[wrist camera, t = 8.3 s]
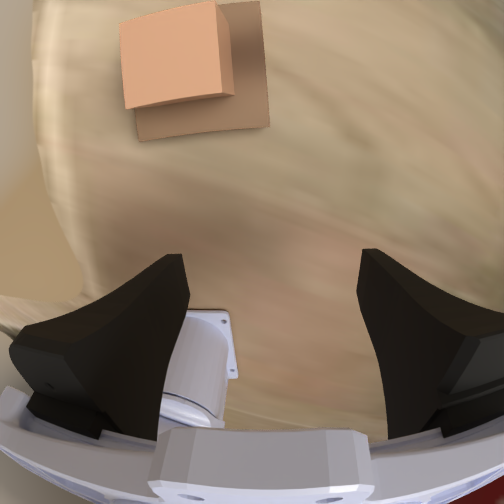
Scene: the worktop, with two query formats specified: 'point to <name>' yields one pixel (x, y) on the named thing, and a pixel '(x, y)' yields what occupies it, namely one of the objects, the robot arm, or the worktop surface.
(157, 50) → the cube
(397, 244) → the worktop surface
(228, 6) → the walnut block
